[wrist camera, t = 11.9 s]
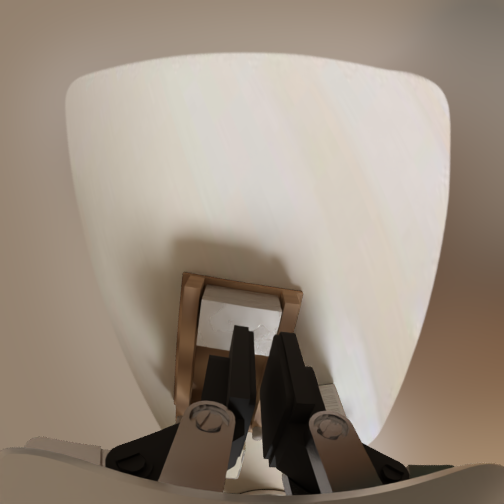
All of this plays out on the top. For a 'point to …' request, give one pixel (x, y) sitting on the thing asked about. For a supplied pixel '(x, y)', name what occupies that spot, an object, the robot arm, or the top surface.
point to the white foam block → (237, 317)
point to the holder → (196, 357)
